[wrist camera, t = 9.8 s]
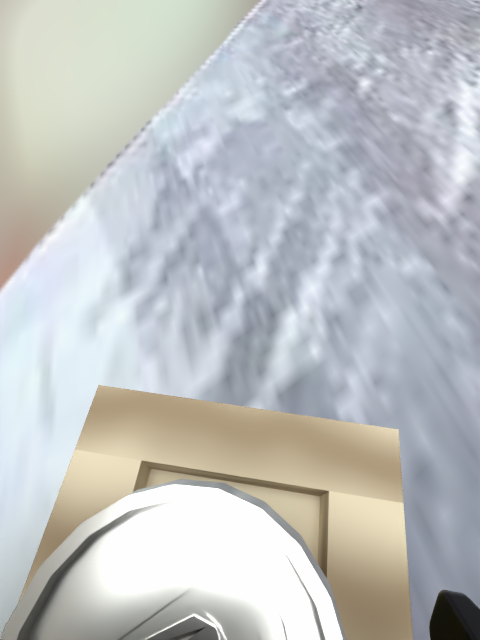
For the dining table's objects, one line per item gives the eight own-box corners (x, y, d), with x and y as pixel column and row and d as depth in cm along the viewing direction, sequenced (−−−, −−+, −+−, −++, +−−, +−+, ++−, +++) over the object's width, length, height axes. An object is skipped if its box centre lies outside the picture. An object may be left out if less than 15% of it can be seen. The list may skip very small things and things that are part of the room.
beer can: (172, 710, 13) (-49, 1248, 3) (136, 548, 16) (-49, 552, 6) (306, 638, 14) (466, 863, 4) (251, 496, 17) (269, 421, 7)
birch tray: (388, 873, 12) (435, 976, 9) (-3, 779, 14) (-72, 845, 11) (374, 447, 20) (398, 429, 17) (119, 408, 21) (98, 385, 18)
